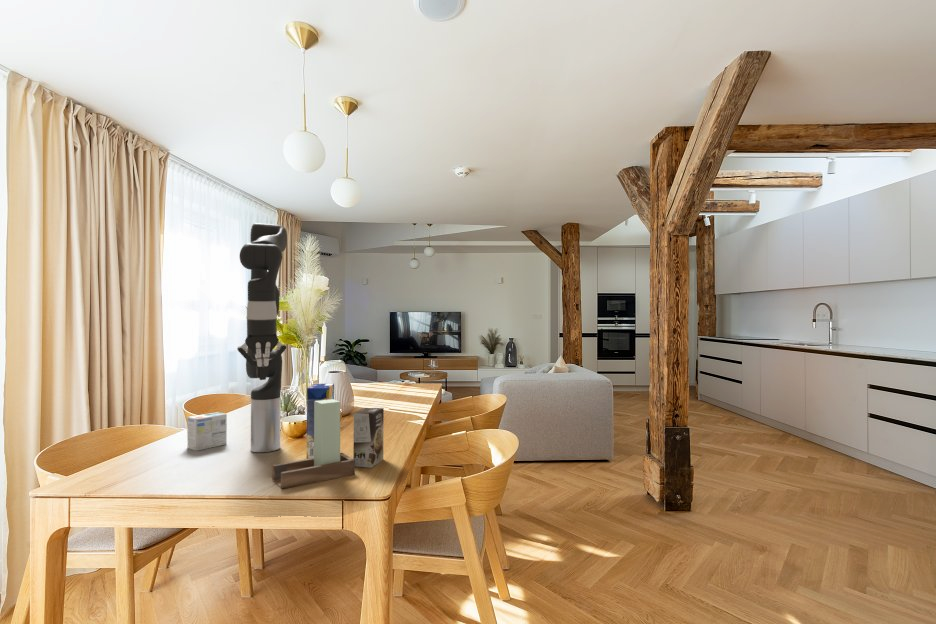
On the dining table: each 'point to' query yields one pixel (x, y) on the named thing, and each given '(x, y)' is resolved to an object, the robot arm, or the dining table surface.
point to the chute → (310, 471)
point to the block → (326, 432)
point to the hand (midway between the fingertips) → (262, 379)
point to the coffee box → (368, 437)
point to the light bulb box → (207, 430)
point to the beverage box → (313, 394)
